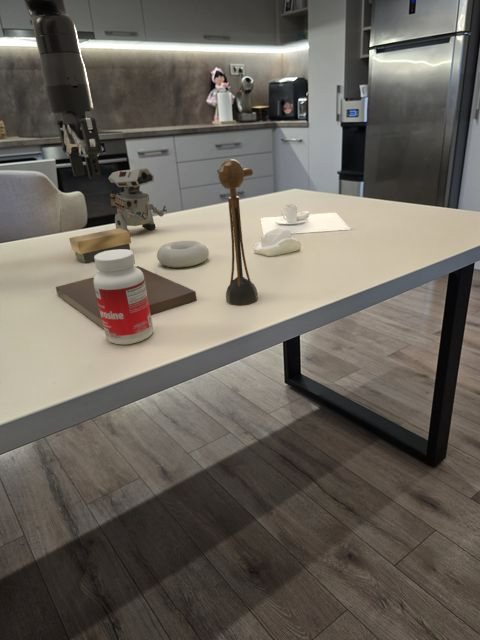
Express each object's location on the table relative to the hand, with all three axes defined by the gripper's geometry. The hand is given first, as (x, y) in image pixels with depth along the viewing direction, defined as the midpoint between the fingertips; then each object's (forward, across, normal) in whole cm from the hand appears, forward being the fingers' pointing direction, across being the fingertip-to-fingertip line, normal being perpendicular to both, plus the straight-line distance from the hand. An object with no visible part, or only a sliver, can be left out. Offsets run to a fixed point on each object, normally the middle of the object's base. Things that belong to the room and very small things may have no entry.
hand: (87, 177), depth 95 cm
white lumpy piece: (+16, +27, +26) cm, 40 cm away
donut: (+16, +18, +9) cm, 26 cm away
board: (+16, +28, -8) cm, 34 cm away
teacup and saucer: (+16, +13, +46) cm, 50 cm away
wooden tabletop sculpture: (+16, +44, +4) cm, 47 cm away
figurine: (+16, -12, +15) cm, 25 cm away
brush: (+16, 0, 0) cm, 16 cm away
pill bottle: (+16, +43, -14) cm, 48 cm away
